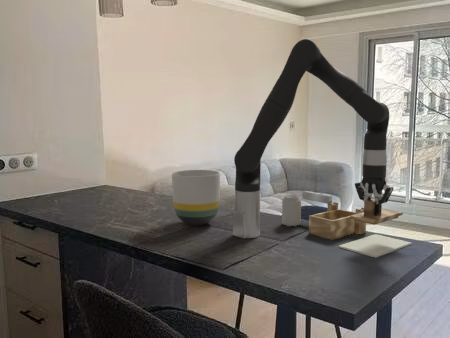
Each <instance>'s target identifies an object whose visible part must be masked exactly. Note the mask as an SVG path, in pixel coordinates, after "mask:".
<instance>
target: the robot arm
mask: <svg viewBox="0 0 450 338" xmlns="http://www.w3.org/2000/svg"><path fill="white" fill-rule="evenodd" d="M306 72H307V73H309V74H311V75H312V76H314V77H316V78H317V79H318V80H320V81H321V82H322V83H324V84H325V85H326V86H328V88H329V89H330V90H331V91H332V92H334V93H335V94H336V95H337V96H338V97H339V98H340V99H341V100H343V101H344V102H345V103H346V104H348V105H349V106H350V107H352V109H353V110H354V111H355V112H356V113H357V114H358V116H360V117H361V119H363V120H364V121H365V122H367V127H366V129H367V130H366V131H365V134H364V137H363V151H362V152H363V154H362V169H361V176H362V179H361V181H359V182H356V183H354V188H355V190H356V192H357V195H358V198H359V200H360V201H363V202H364V201H366V200H371V199H372V196H373V199H375V212H374V215H379V214H380V213H381V204H382V205H383V204H385V203H388V201H389V199H390V197H391V195H392V193H393V191H394V190H395V189H394V187H393V186H389V185H388V184H387V180H386V177H387V162H388V160H387V134H388V128H389V124H390V123H389V121H390V109H389V106H388V105H386V103H384V102H378V101H377V100H376V99H375V98H373V97H372V96H371V95H370V94H368V91H367V90H366V89H365V88H364V87H363V86H362V85H360V84H359V83H358V82H356V81H355V80H354V79H353V78H351V77H350V76H349V75H347V74H345V73H344V72H342V71H341V70H339V69H338V68H336V67H335V66H334V65H333V64H331V63H330V61H329V60H328V59H327V58H326V57H325V56H324V54H323V53H322V52H321V50H320V48H319V47H318V45H317V44H316V43H315V42H314V41H313V40H312V39H309V38H304V39H301V40H299V41H297V42H296V43H295V44H294V46H293V47H292V48H291V51H290V53H289V56H288V58H287V60H286V62H285V64H284V67H283V69H282V71H281V73H280V75H279V77H278V78H277V80H276V81H275V84H274V85H273V87H272V89H271V91H270V92H269V94H268V96H267V98H266V99H265V101H264V103H263V104H262V106H261V108H260V111H259V112H258V115H257V117H256V118H255V122H254V123H253V127H252V129H251V131H250V133H249V134H248V136H247V137H246V139H245V141H244V142H243V143H242V145H241V146H240V148H238V150H237V151H236V153H235V156H234V158H233V159H234V160H233V161H234V165H235V182H234V210H233V211H232V235H233V236H235V237H238V238H239V239H254V238H258V237H260V236H261V233H260V232H261V231H260V230H261V214H260V213H261V160H262V157H263V155H264V152H265V150H266V148H267V146H268V144H269V143H270V141H271V140H272V138H273V137H274V135H275V134H276V133H277V132H278V130H279V129H280V127H281V126H282V124H283V123H284V121H285V120H286V118H287V116H288V114H289V113H290V111H291V109H292V107H293V104H294V102H295V98H296V94H297V90H298V87H299V84H300V82H301V80H302V78H303V77H304V75H305V73H306Z"/></svg>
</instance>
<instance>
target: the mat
mask: <svg viewBox="0 0 450 338" xmlns="http://www.w3.org/2000/svg"><path fill="white" fill-rule="evenodd" d="M412 244H413V243H412V242H410V241H406V240H403V239H402V240H401V239H398V238H393V237H388V236H385V235H380V234H378V233H377V234H376V233H374V234H371V235H369V236H365V237H362V238H358V239H355V240H352V241H350V242H346V243H343V244H340V245H338V248H340V249H342V250H343V249H344V250H348V251H351V252H355V253H357V254H362V255H365V256H367V257H372V258H375V259H376V258H379V257H382V256H384V255H386V254H390V253H392V252H395V251H398V250H400V249H403V248H406V247H409V246H410V245H412Z"/></svg>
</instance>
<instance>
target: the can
mask: <svg viewBox="0 0 450 338" xmlns="http://www.w3.org/2000/svg"><path fill="white" fill-rule="evenodd" d="M281 202H282V203H281V204H282V205H281V207H282V208H281V209H282V211H281V212H282V213H281V216H282V217H281V223H282V224H283V225H284V226H285V225H286V226H285V227H291V226H294V227H298V226H299V225H300V224H302V221H301V220H302V218H301V216H302V200H301V198H300V196H299V195H296V194H287V195H284V196H283V199H282V201H281ZM297 225H298V226H297Z"/></svg>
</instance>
